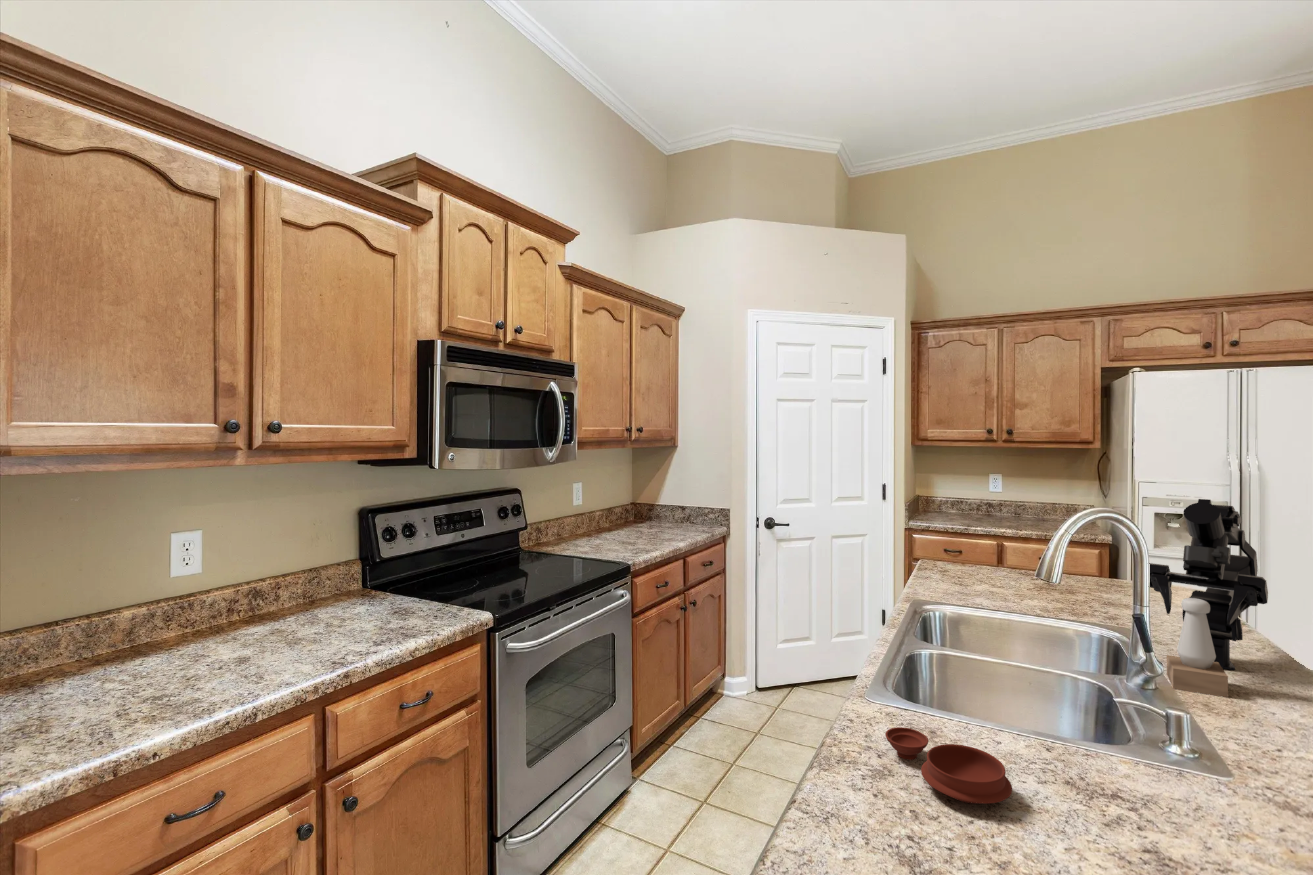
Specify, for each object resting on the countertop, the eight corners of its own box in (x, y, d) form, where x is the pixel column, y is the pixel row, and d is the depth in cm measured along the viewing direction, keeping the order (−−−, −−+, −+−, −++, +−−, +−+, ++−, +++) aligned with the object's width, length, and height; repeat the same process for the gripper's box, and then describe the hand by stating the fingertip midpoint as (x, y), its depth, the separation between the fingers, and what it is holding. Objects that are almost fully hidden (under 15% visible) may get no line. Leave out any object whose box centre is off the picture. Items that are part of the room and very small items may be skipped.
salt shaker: (1207, 661, 125) (1207, 596, 124) (1221, 672, 119) (1221, 604, 119) (1171, 658, 127) (1171, 594, 126) (1183, 668, 121) (1183, 602, 121)
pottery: (971, 827, 82) (971, 794, 82) (864, 754, 100) (863, 727, 100) (1031, 803, 87) (1031, 772, 87) (918, 738, 105) (918, 712, 105)
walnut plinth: (1166, 674, 128) (1166, 655, 128) (1218, 682, 124) (1218, 662, 124) (1173, 688, 122) (1173, 668, 122) (1228, 697, 117) (1227, 676, 117)
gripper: (1145, 525, 134) (1131, 585, 127) (1266, 535, 120) (1258, 604, 113) (1153, 556, 139) (1141, 616, 132) (1271, 569, 125) (1264, 637, 118)
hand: (1197, 617), depth 124 cm, fingers open, 9 cm apart
